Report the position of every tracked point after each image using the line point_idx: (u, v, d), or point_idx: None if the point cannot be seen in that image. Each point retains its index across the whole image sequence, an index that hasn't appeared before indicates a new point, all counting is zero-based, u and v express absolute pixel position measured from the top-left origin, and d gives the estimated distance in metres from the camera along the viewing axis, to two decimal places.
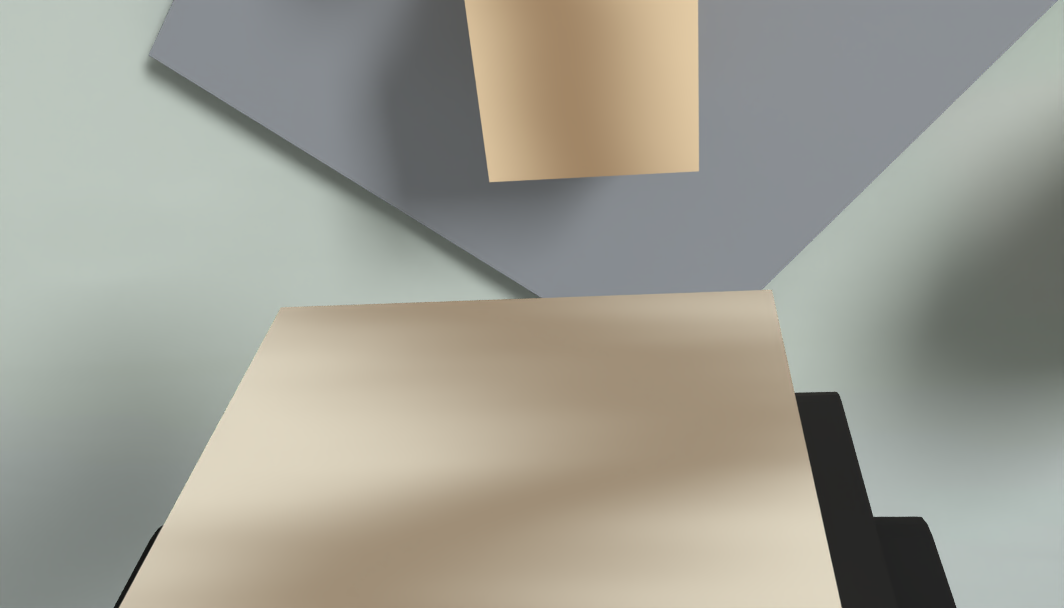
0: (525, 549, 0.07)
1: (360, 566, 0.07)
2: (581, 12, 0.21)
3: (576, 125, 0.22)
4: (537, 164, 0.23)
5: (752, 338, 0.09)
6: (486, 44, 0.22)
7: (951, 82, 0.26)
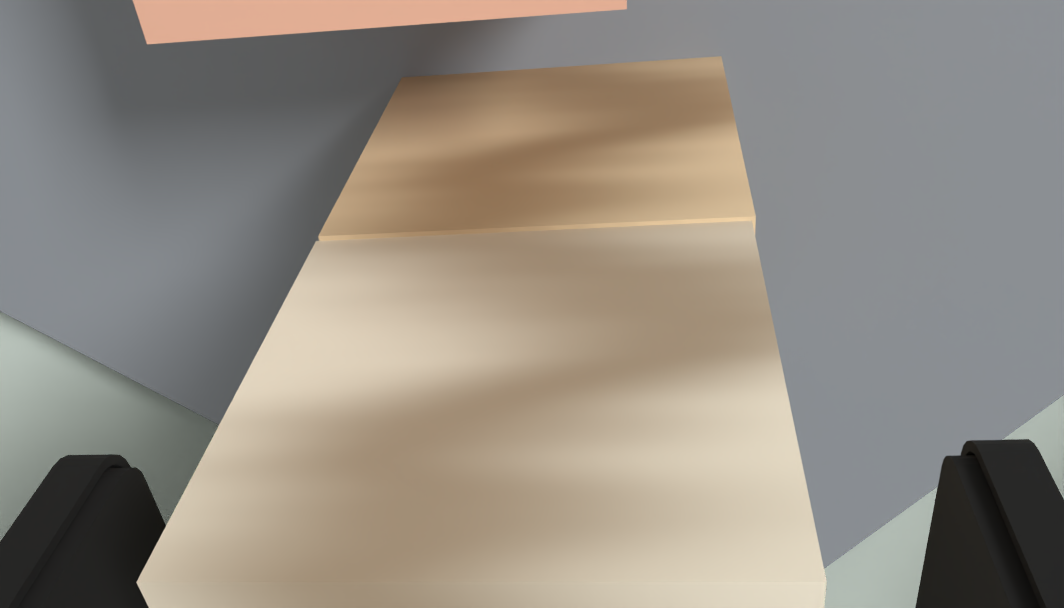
0: (536, 423, 0.08)
1: (397, 439, 0.08)
2: None
3: None
4: None
5: (733, 259, 0.10)
6: None
7: None
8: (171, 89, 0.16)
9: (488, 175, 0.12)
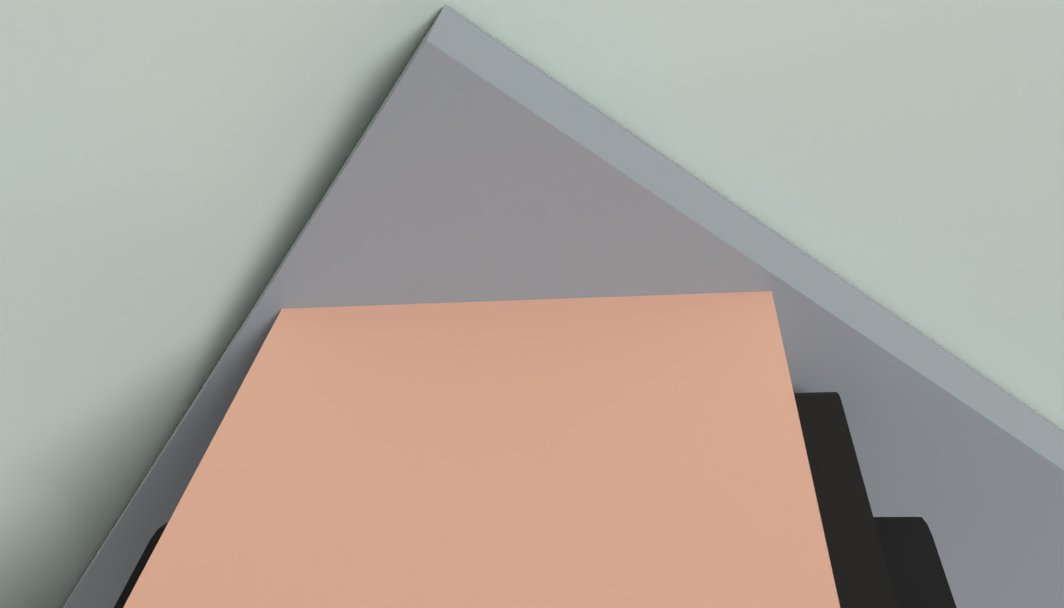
0: None
1: None
2: None
3: None
4: None
5: None
6: None
7: None
8: None
9: None
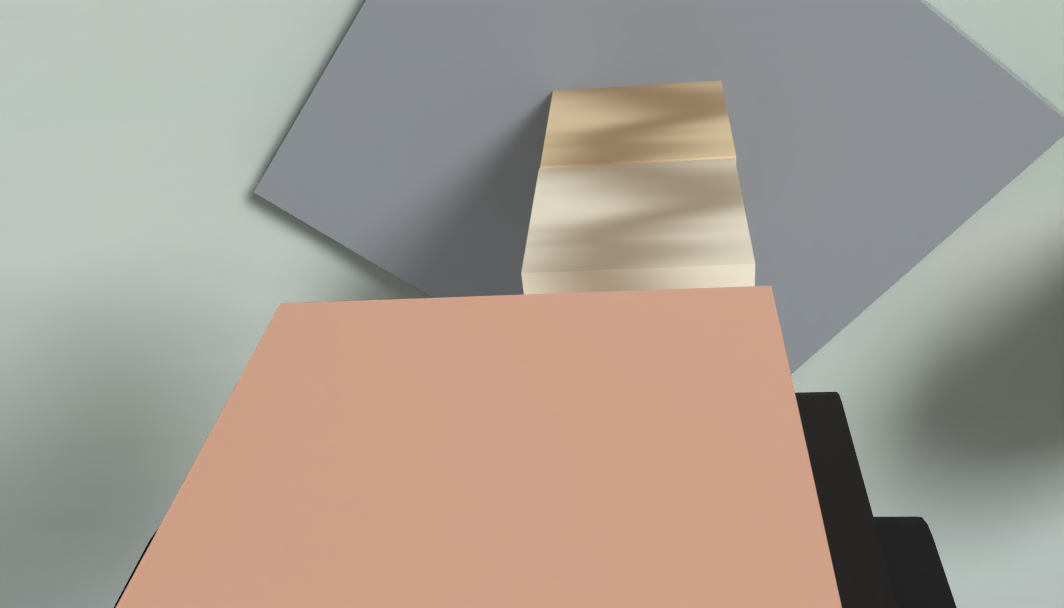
0: (652, 228, 0.22)
1: (600, 233, 0.22)
2: None
3: None
4: None
5: (726, 172, 0.24)
6: None
7: (944, 223, 0.31)
8: (427, 96, 0.30)
9: (612, 139, 0.26)
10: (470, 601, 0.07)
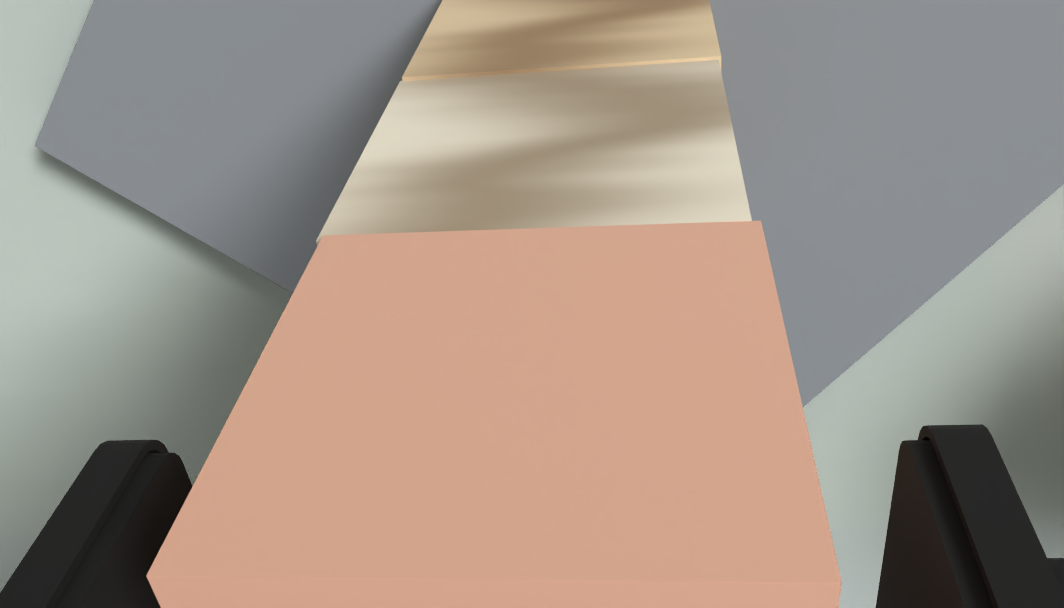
0: (568, 163, 0.12)
1: (474, 174, 0.12)
2: None
3: None
4: None
5: (704, 79, 0.14)
6: None
7: (1031, 186, 0.21)
8: None
9: (524, 40, 0.16)
10: (504, 461, 0.08)
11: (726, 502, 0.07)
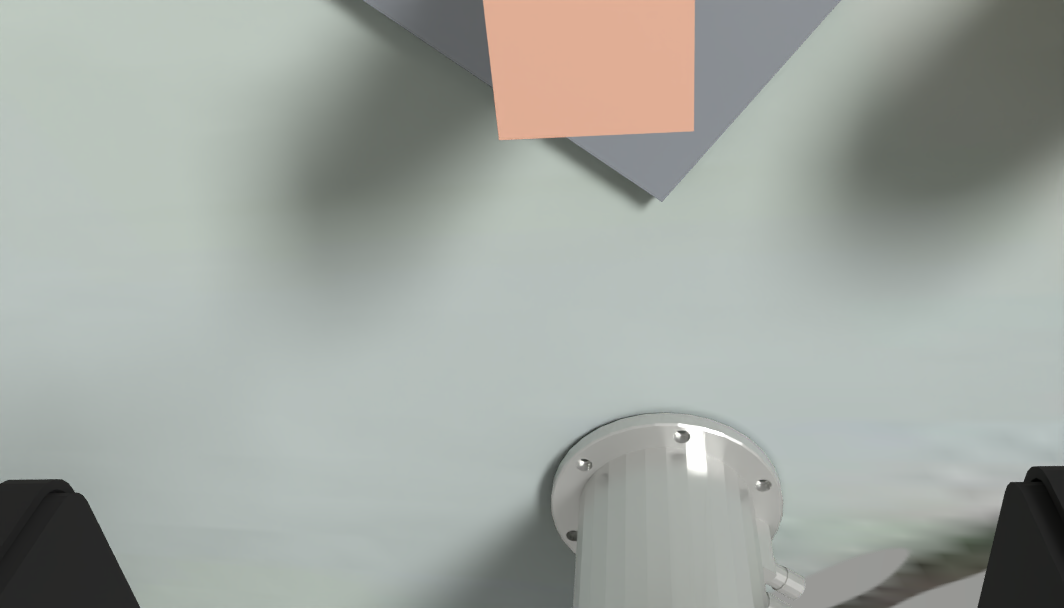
0: None
1: None
2: None
3: None
4: None
5: None
6: None
7: None
8: None
9: None
10: None
11: None
